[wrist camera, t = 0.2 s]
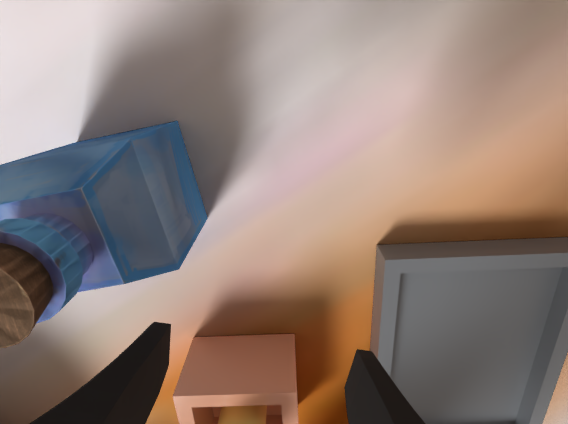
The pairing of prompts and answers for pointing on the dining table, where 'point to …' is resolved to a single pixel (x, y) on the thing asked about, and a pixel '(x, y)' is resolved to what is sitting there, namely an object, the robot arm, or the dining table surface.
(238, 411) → the dowel
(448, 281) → the tray
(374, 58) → the dining table surface
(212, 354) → the peach hollow square block
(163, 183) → the perfume bottle
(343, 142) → the dining table surface
